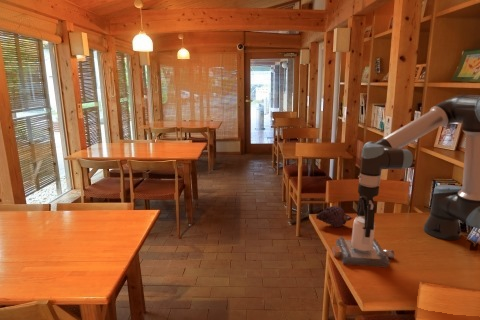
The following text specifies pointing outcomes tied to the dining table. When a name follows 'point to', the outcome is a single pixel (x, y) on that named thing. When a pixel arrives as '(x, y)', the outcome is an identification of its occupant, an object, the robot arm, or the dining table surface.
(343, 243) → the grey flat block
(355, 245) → the beverage can
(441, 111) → the robot arm
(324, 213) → the pine cone
